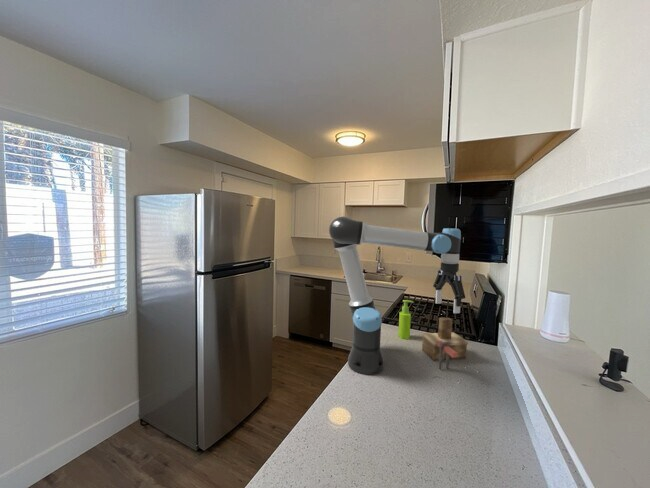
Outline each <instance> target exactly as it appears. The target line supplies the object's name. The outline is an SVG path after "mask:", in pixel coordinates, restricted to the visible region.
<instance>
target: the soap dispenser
mask: <svg viewBox="0 0 650 488" xmlns="http://www.w3.org/2000/svg"><path fill="white" fill-rule="evenodd" d="M402 303H403V305H402V307H401V311H399V316H398V317H399V318H398V332H397V333H398V334H397V336H398V338H399V339H401V340H409V339H410V337H411V321H412V320H411V317H412V313H411V312H409V311H410V310H409V309H410V307H409V306H408V303H411V304H414V303H415V302H414V301H413V300H410V299H403V300H402Z"/></svg>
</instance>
